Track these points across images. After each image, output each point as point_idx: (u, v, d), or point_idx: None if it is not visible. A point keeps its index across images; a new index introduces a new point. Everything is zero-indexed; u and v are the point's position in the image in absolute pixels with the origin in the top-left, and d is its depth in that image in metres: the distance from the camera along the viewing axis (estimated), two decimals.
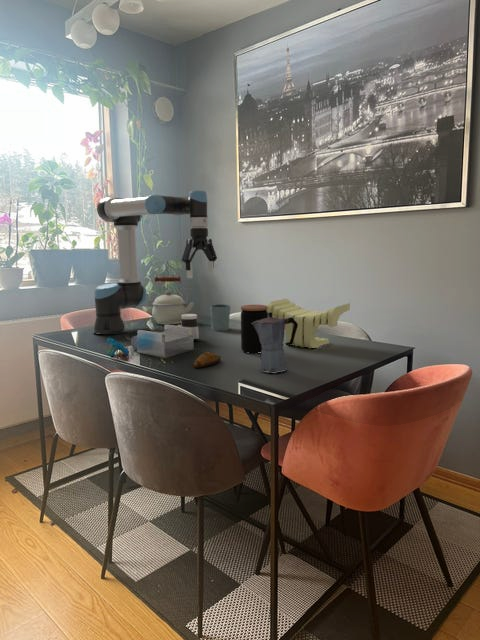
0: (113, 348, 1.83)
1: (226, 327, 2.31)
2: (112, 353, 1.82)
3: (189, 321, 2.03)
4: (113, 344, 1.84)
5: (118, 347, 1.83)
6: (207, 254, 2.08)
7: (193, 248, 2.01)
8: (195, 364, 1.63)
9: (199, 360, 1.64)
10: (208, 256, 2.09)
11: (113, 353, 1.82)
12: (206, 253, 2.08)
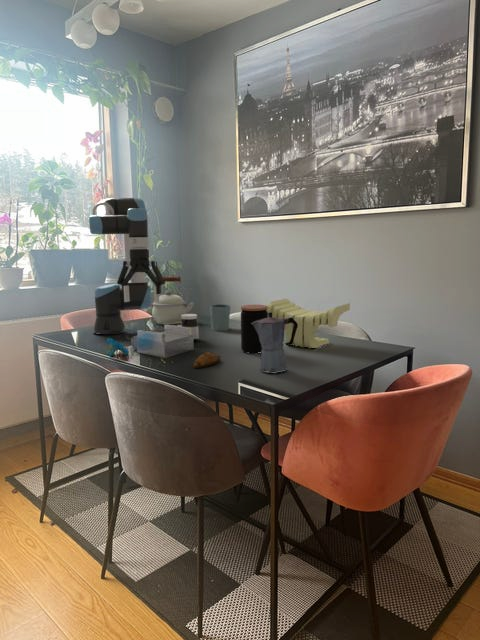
0: (113, 348, 1.83)
1: (226, 327, 2.31)
2: (111, 353, 1.82)
3: (189, 321, 2.03)
4: (113, 344, 1.84)
5: (117, 347, 1.82)
6: None
7: None
8: (195, 364, 1.63)
9: (199, 360, 1.64)
10: None
11: (112, 353, 1.82)
12: None
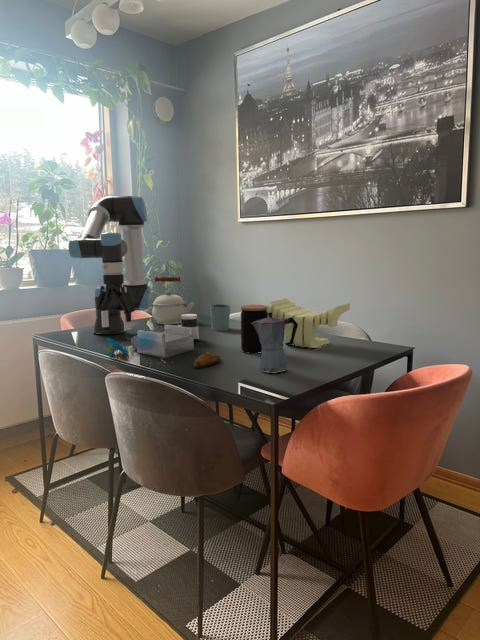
0: (112, 348, 1.83)
1: (226, 327, 2.31)
2: (111, 353, 1.82)
3: (189, 321, 2.03)
4: (112, 344, 1.84)
5: (117, 347, 1.82)
6: None
7: None
8: (195, 364, 1.63)
9: (199, 360, 1.64)
10: None
11: (112, 353, 1.82)
12: None
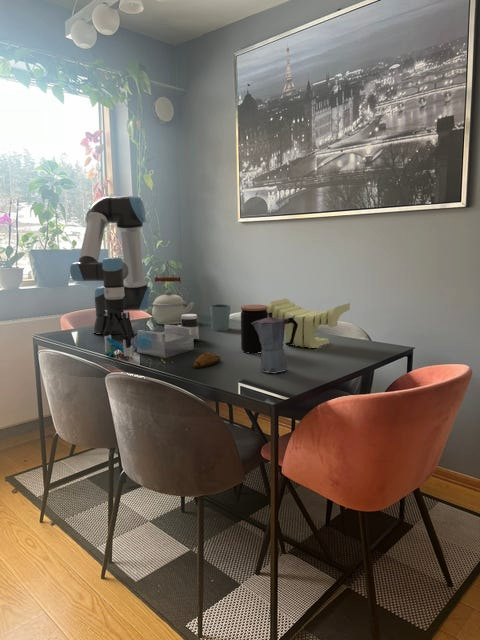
0: (112, 348, 1.83)
1: (226, 327, 2.31)
2: (111, 353, 1.81)
3: (189, 321, 2.03)
4: (112, 344, 1.84)
5: (117, 347, 1.82)
6: None
7: None
8: (195, 364, 1.63)
9: (199, 360, 1.64)
10: None
11: (112, 353, 1.82)
12: None
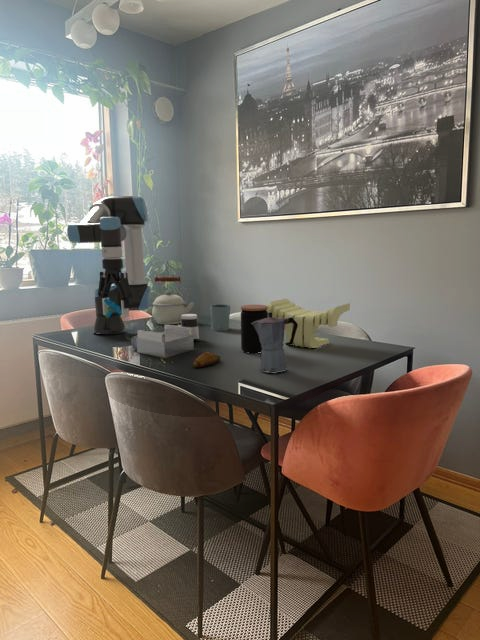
0: (110, 309, 1.80)
1: (226, 327, 2.31)
2: (108, 314, 1.79)
3: (189, 321, 2.03)
4: (110, 306, 1.81)
5: (115, 308, 1.80)
6: None
7: None
8: (195, 364, 1.63)
9: (199, 360, 1.64)
10: None
11: (110, 314, 1.79)
12: None
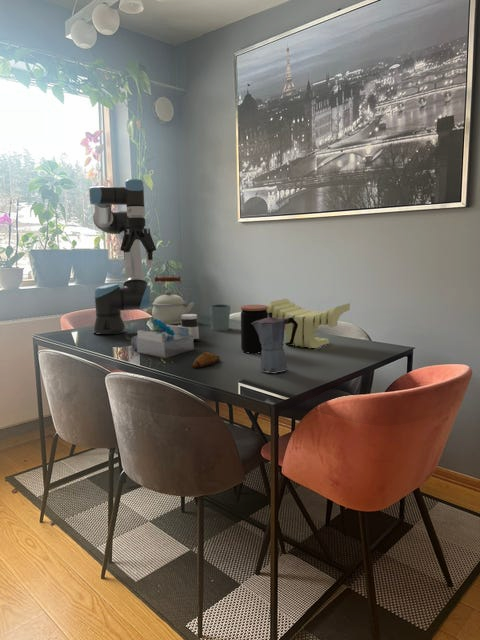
0: (159, 330, 1.87)
1: (226, 327, 2.31)
2: None
3: (189, 321, 2.03)
4: (159, 326, 1.88)
5: (164, 329, 1.86)
6: None
7: None
8: (194, 364, 1.63)
9: (198, 360, 1.64)
10: None
11: None
12: None
